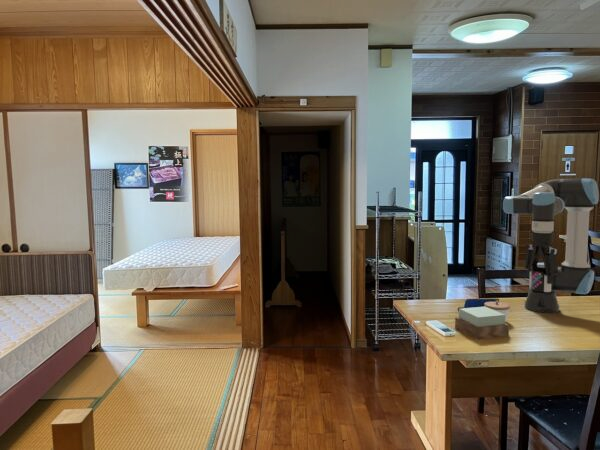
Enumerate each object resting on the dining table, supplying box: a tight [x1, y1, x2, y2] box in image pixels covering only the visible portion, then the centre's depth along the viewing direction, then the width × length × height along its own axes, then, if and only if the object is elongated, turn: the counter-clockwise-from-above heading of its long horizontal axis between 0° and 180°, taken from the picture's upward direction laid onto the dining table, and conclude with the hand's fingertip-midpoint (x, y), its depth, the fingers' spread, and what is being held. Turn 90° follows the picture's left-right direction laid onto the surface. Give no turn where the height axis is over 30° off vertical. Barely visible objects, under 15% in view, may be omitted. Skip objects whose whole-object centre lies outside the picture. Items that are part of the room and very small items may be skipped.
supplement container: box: [530, 264, 548, 294], centre depth 170 cm, size 7×7×10 cm
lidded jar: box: [484, 301, 511, 321], centre depth 196 cm, size 11×11×9 cm
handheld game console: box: [457, 298, 500, 311], centre depth 208 cm, size 16×13×9 cm
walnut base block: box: [454, 316, 510, 340], centre depth 183 cm, size 15×15×5 cm
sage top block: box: [458, 307, 506, 327], centre depth 182 cm, size 13×13×4 cm
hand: (539, 289), depth 170 cm, fingers closed on supplement container, 7 cm apart
